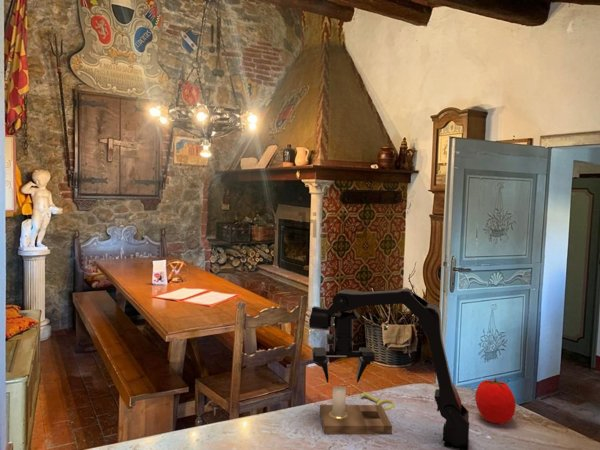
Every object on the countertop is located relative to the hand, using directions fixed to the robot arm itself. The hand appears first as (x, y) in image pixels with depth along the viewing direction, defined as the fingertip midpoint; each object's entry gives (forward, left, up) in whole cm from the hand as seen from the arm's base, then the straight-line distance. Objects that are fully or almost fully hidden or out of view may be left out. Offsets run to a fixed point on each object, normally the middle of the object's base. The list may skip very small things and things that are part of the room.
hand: (342, 382), depth 145 cm
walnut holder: (-4, -2, -13) cm, 13 cm away
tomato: (-44, -22, -13) cm, 51 cm away
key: (-7, -19, -14) cm, 24 cm away
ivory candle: (+1, 0, -10) cm, 10 cm away
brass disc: (+1, 0, -10) cm, 10 cm away
